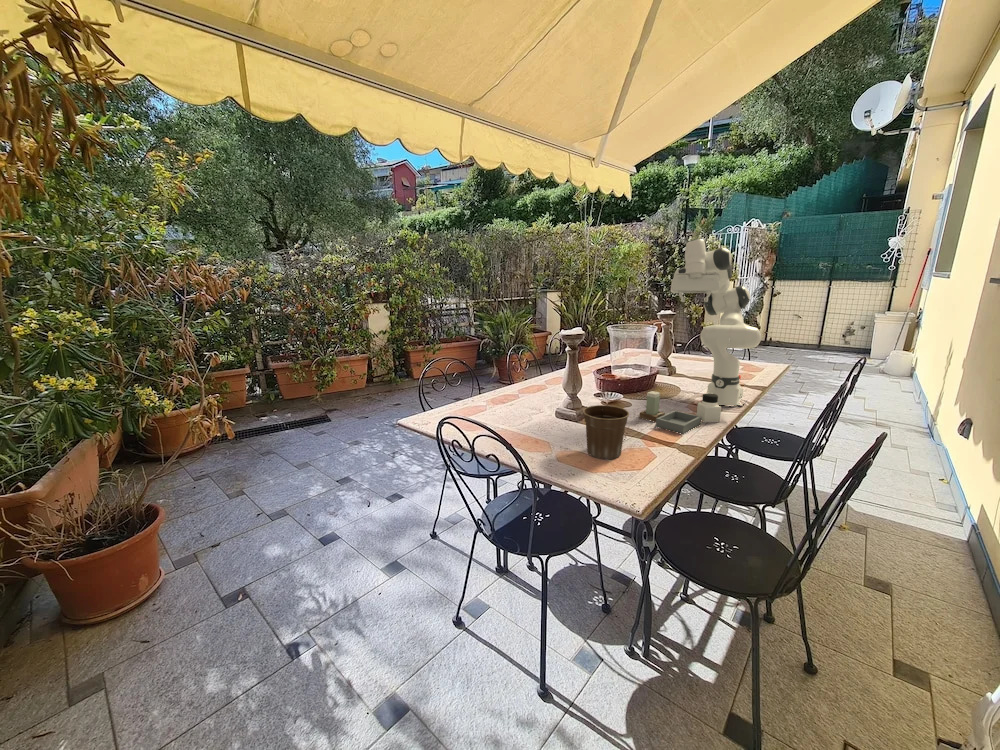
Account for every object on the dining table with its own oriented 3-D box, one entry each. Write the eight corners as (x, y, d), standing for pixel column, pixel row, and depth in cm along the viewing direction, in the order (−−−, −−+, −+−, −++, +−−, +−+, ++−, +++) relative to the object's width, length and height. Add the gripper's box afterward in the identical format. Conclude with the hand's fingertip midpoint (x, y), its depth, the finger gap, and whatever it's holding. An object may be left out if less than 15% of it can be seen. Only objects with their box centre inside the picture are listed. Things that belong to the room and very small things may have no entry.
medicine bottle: (719, 422, 181) (722, 396, 178) (703, 422, 181) (706, 396, 178) (711, 416, 188) (714, 391, 185) (696, 417, 188) (698, 391, 185)
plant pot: (594, 440, 164) (595, 402, 160) (633, 450, 154) (636, 409, 150) (573, 454, 152) (574, 413, 148) (615, 466, 142) (617, 422, 138)
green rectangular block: (650, 415, 191) (651, 390, 188) (658, 418, 188) (660, 392, 185) (645, 417, 188) (647, 392, 186) (653, 420, 185) (655, 394, 183)
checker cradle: (648, 413, 194) (648, 407, 193) (664, 418, 188) (665, 412, 187) (639, 417, 189) (639, 411, 188) (655, 422, 183) (656, 416, 182)
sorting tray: (674, 418, 187) (674, 410, 186) (700, 425, 178) (701, 416, 178) (655, 426, 177) (656, 418, 176) (682, 434, 168) (683, 425, 168)
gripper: (718, 275, 189) (718, 304, 186) (670, 276, 194) (669, 304, 192) (721, 269, 183) (721, 298, 180) (672, 270, 188) (671, 299, 186)
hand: (694, 301), depth 186 cm, fingers open, 8 cm apart
